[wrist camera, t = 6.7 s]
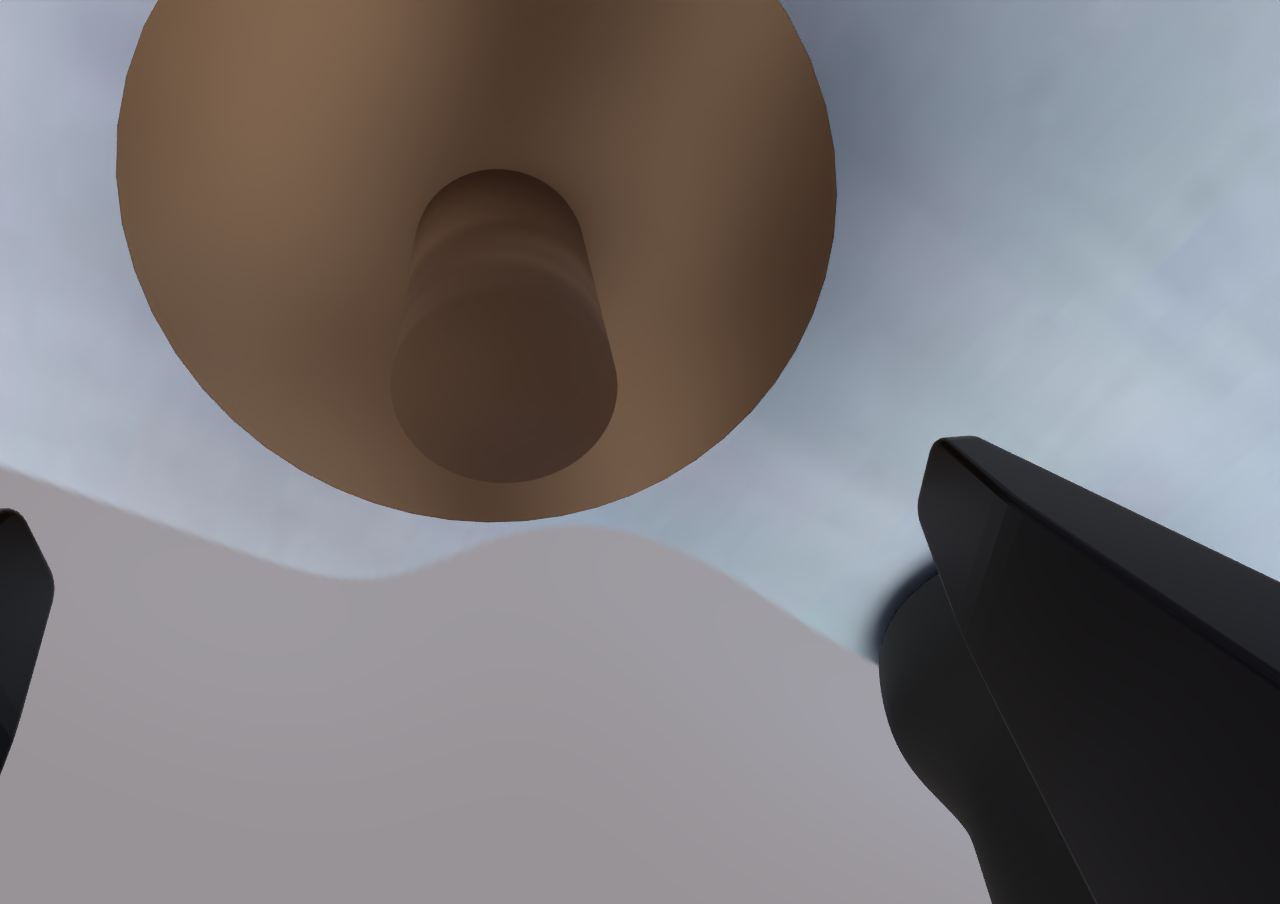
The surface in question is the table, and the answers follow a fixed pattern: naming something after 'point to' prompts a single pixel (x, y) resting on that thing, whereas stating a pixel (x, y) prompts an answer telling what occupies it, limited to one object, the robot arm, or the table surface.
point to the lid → (479, 233)
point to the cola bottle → (971, 754)
